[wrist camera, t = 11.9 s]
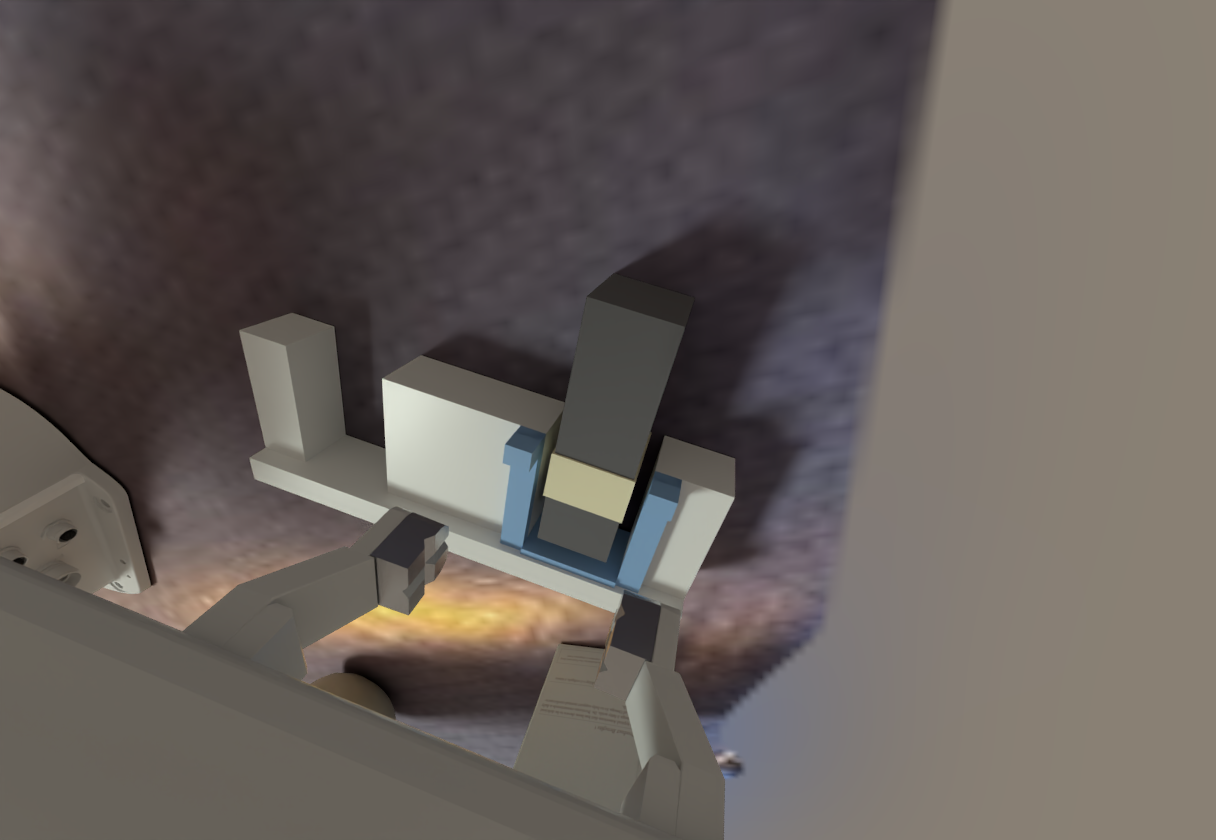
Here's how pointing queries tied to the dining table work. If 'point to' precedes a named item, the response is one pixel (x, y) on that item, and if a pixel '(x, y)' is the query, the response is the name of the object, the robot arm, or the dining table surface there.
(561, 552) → the white angular block assembly
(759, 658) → the dining table surface
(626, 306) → the banded gray post
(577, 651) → the supplement box
